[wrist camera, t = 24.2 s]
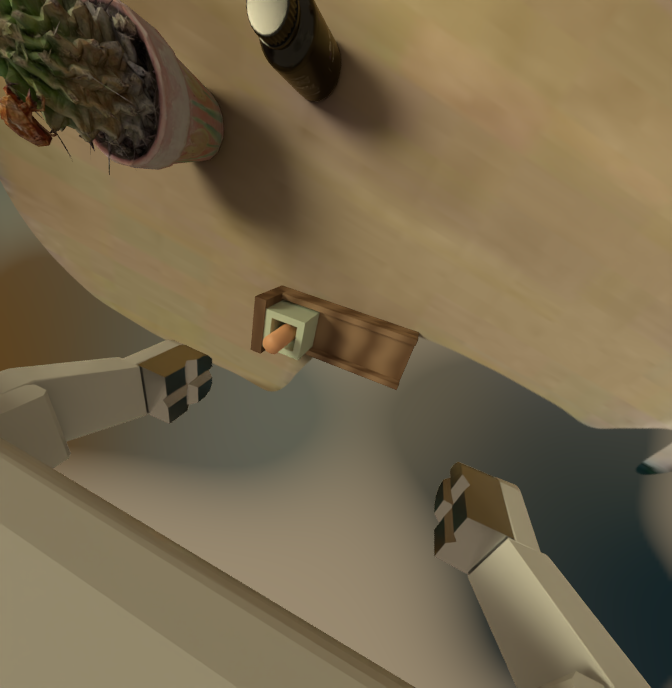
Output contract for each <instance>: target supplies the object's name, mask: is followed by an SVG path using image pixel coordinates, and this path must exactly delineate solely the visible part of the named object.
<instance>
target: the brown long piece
mask: <svg viewBox="0 0 672 688" xmlns="http://www.w3.org/2000/svg"><path fill="white" fill-rule="evenodd" d="M282 300H287V301H290V302H293V303H296V304H298V305H301V306H304V307H307V308H310V309H313V310H315V311H318V312H320V314H319V318H318V323H317V328H316V332H315V337H314V342H313V346H312V347H311V348H310V349H309V350H308V351H307V352H306V353H305V354H306V355H309V356H311V357H314V358H316V359H319V360H322V361H324V362H326V363H329V364H332V365H334V366H337V367H339V368H342V369H344V370H347V371H350V372H352V373H354V374H357V375H360V376H362V377H365V378H367V379H370V380H372V381H375V382H377V383H380V384H383V385H385V386H388V387H390V388H393V389H395V390H397V388H398V385H399V381H400V379H401V376H402V374H403V372H404V369H405V367H406V365H407V362H408V360H409V358H410V355H411V353H412V351H413V348H414V346H415V345H416V343H417V341H418V336H419V332H416V331H413V330H410V329H407V328H404V327H401V326H398V325H395V324H393V323H390V322H387V321H384V320H381V319H378V318H375V317H372V316H369V315H366V314H363V313H361V312H358V311H355V310H352V309H349V308H346V307H343V306H340V305H337V304H334V303H331V302H329V301H326V300H323V299H320V298H317V297H314V296H311V295H308V294H305V293H302V292H299V291H296V290H294V289H291V288H288V287H285V286H280V287H277V288H275V289H272V290H270V291H267V292H265V293H262V294H260V295H257V296H255V305H254V317H253V329H252V341H251V350H253V351H255V352H258V353H260V354H261V353H262V352H263V351H265V348H264V347H263V346H262V342H263V332H264V323H265V313H266V308H268V307H270V306H272V305H274V304H276V303H278V302H280V301H282Z"/></svg>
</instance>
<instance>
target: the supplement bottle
mask: <svg viewBox="0 0 672 688" xmlns="http://www.w3.org/2000/svg"><path fill="white" fill-rule="evenodd" d="M246 3H247V5H246V8H247V15H248V17H249V22H250V23H251V27H252V28H253V29H254V32H255V33H256V34H257V35H258V37H259V40H260V44H261V48H262V51H263V53H264V55H265V57H266V59H267V60H268V62H269V63H270V64H271V66H272V67H273V68H274V69H275V70H276V71H277V72H278V73H279V74H280V75H281V76H282V77H283V78H284V79H285V80H286V81H287V82H288V83H289V84H290V85H291V86H292V87H293V88H294V89H295V90H296V91H297V92H298V93H299V94H300V95H302V96H303V97H304V98H305V99H307V100H309V101H320V100H323V99H324V98H326V97H327V96H328V95H329V94H330V93H331V92H332V91H333V89H334V88H335V86H336V84H337V82H338V79H339V75H340V70H341V57H340V51H339V48H338V45H337V43H336V41H335V39H334V37H333V35H332V33H331V31H330V30H329V28H328V26H327V24H326V22H325V20H324V18H323V16H322V14H321V13H320V11H319V9H318V7H317V5H316V3H315V1H314V0H246Z"/></svg>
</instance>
